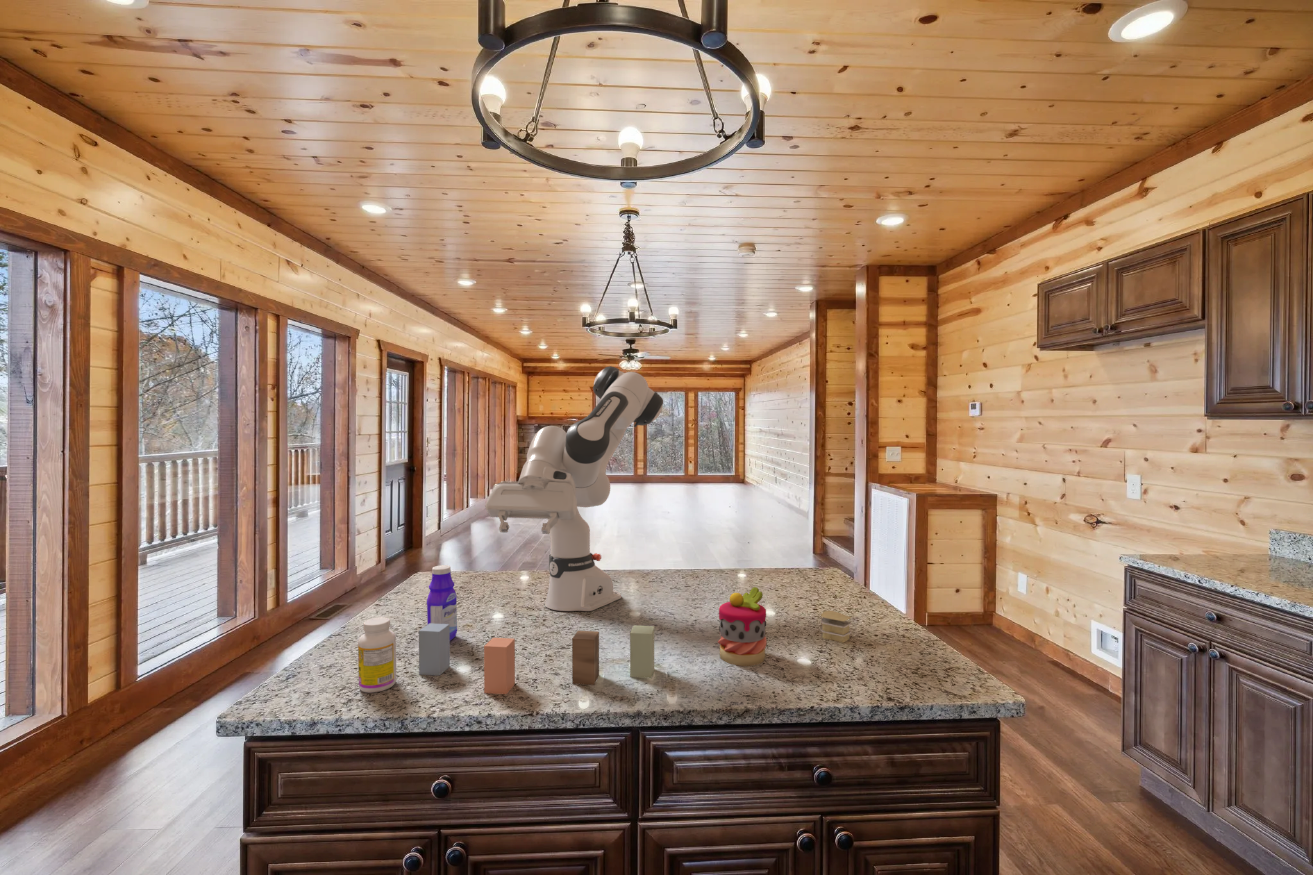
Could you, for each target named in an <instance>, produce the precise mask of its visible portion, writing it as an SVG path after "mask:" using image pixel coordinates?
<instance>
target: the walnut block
mask: <svg viewBox="0 0 1313 875" xmlns="http://www.w3.org/2000/svg"><path fill="white" fill-rule="evenodd" d="M571 646H572V649H571V650H572V651H571V659H572V660H571V661H572V662H571V663H572V664H571V665H572V672H571V674H572V676H571V677H572V678H571V681H572V683H571V684H572V685H585V686H586V685H587V686H595V685H596V682H597V680H598V678H599V676H600V631H595V630H593V631H591V630H577V631H576V633H575V634H574V635H573V637H572V639H571Z"/></svg>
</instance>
